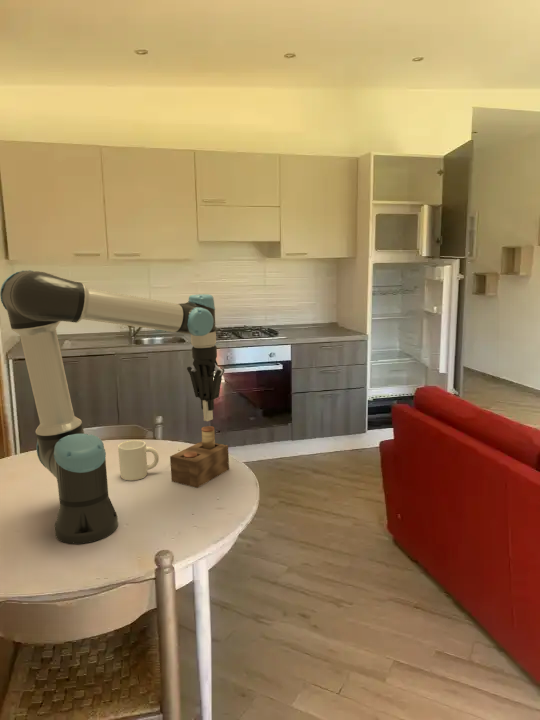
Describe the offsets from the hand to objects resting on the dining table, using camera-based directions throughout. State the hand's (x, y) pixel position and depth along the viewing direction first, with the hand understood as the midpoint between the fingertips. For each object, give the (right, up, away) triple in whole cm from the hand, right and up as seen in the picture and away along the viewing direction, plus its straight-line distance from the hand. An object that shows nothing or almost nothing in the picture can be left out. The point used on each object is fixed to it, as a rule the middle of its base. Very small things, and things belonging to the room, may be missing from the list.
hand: (208, 419), depth 172 cm
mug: (-21, -18, +1) cm, 28 cm away
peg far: (0, -10, +2) cm, 10 cm away
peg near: (-5, -17, -5) cm, 18 cm away
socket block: (-2, -17, -1) cm, 17 cm away
